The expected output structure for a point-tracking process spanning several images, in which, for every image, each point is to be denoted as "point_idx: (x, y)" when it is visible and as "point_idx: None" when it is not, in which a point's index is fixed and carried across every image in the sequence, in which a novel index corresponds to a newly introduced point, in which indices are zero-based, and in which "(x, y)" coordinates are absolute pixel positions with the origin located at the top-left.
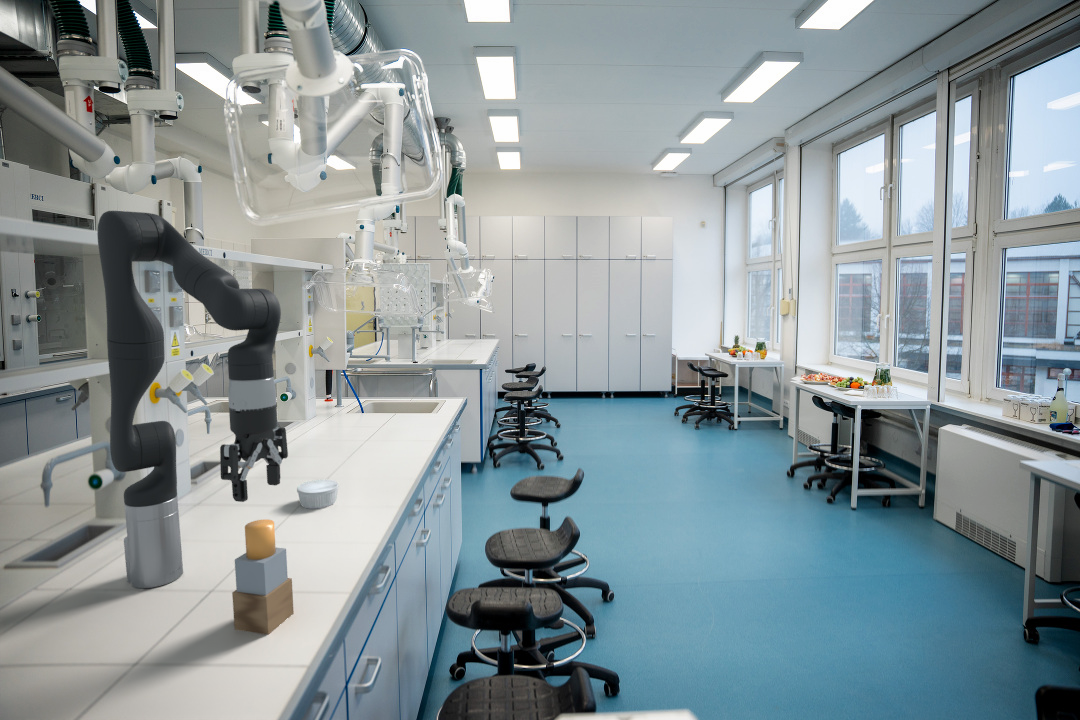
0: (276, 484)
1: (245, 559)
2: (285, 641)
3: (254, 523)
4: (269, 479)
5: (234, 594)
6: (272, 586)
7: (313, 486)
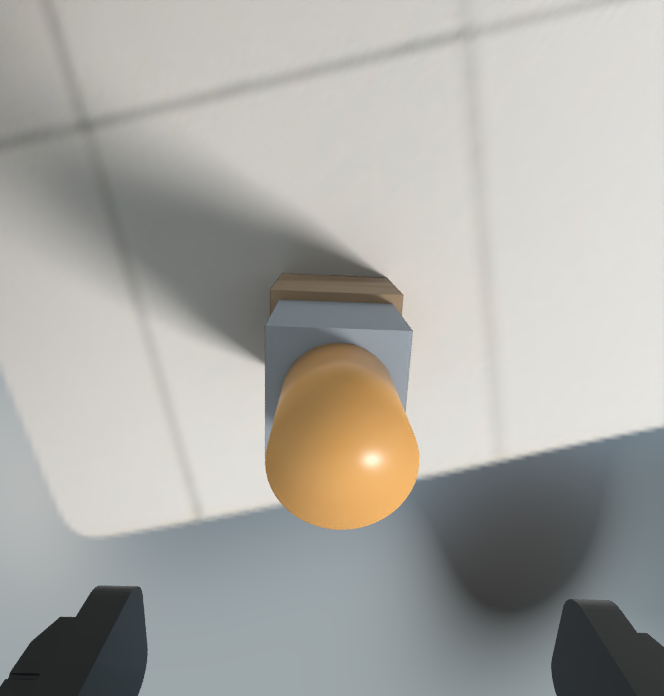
0: (553, 679)
1: (276, 369)
2: None
3: (351, 427)
4: (594, 657)
5: (270, 297)
6: None
7: None
